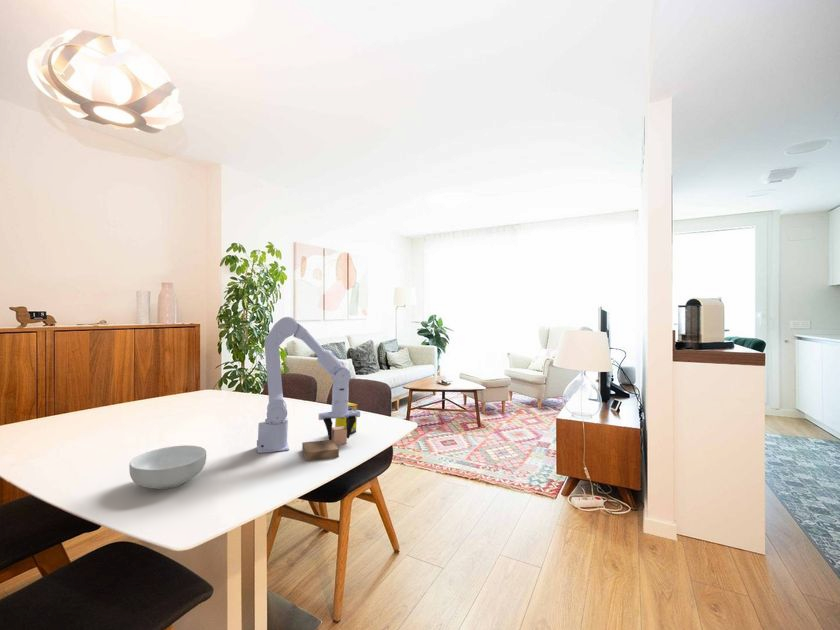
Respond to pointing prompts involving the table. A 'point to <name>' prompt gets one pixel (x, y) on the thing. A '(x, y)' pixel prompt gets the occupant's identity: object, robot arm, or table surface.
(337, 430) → the terracotta block
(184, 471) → the cereal bowl
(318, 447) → the walnut base
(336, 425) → the supplement box
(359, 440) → the table surface
